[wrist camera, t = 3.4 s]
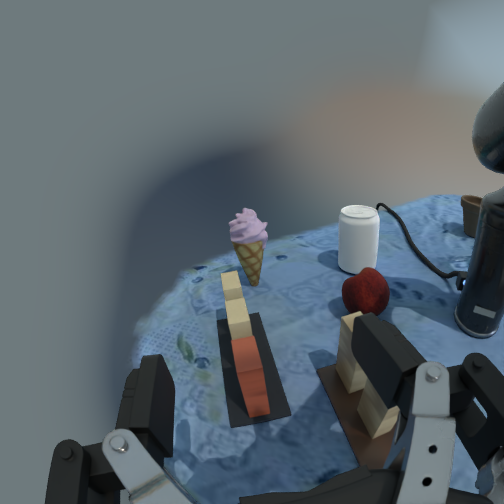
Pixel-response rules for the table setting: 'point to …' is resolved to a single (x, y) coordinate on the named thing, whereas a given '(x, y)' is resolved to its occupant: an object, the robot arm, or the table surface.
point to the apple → (366, 292)
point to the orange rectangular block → (250, 375)
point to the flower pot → (470, 213)
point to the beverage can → (358, 238)
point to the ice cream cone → (249, 243)
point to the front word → (358, 403)
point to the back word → (251, 325)
